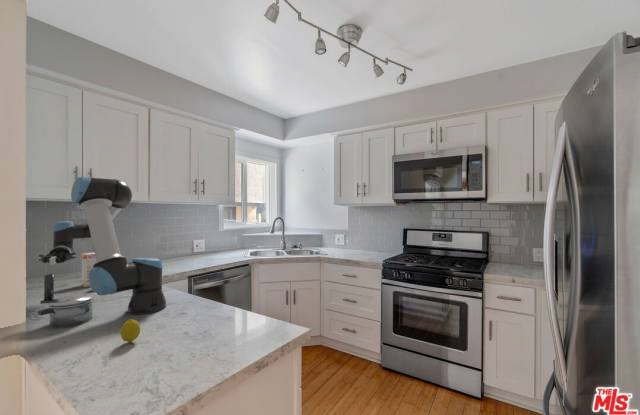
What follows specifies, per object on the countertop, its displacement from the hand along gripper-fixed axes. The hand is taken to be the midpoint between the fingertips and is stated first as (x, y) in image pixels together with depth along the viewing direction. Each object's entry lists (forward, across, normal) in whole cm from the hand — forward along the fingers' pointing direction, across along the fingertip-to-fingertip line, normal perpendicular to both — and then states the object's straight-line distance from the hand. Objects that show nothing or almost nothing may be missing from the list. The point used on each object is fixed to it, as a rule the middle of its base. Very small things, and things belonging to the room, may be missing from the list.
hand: (51, 261), depth 119 cm
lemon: (+46, -26, -23) cm, 58 cm away
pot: (+11, -6, -23) cm, 26 cm away
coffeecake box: (-60, -14, -24) cm, 66 cm away
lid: (+9, -6, -15) cm, 19 cm away
